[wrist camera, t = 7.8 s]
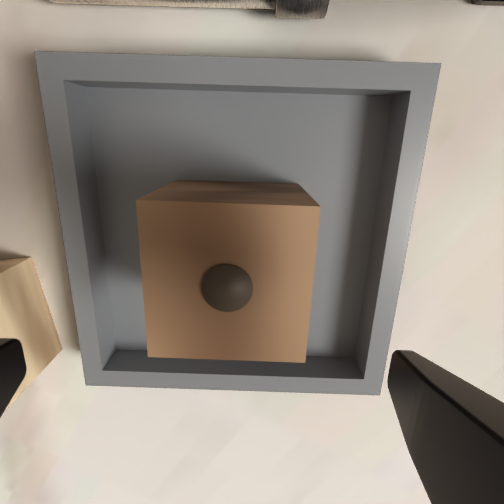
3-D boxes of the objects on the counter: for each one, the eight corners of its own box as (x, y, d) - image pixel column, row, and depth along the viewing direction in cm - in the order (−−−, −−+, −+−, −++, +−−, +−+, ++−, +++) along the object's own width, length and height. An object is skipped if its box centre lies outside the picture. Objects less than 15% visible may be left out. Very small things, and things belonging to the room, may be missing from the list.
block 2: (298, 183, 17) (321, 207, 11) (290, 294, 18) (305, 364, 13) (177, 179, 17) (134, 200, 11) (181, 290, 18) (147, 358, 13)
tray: (413, 74, 16) (441, 63, 13) (365, 365, 21) (380, 395, 18) (68, 64, 16) (34, 50, 13) (105, 357, 21) (85, 385, 18)
